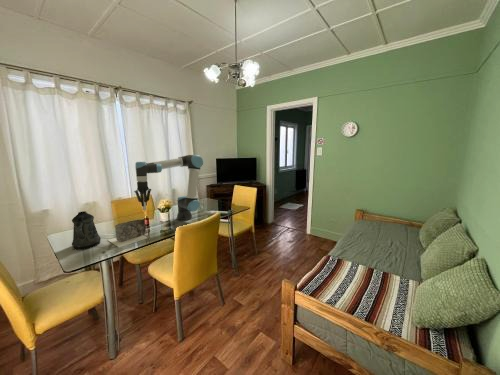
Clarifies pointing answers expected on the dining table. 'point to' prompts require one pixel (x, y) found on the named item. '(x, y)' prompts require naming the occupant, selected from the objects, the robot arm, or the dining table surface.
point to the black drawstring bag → (84, 232)
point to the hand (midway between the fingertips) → (144, 209)
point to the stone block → (130, 230)
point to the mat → (127, 241)
